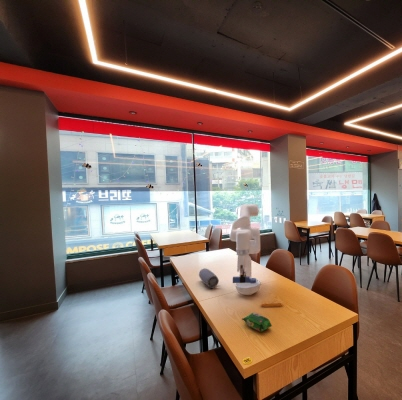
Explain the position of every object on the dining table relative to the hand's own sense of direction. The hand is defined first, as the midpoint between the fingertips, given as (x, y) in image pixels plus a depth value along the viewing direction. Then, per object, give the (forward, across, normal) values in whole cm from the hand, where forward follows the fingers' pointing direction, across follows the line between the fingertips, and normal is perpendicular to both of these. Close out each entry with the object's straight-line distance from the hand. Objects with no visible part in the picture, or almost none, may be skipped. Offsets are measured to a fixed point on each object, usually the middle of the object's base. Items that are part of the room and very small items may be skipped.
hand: (242, 281), depth 138 cm
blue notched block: (0, 0, +1) cm, 1 cm away
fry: (+15, 0, +17) cm, 23 cm away
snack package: (+15, +22, +10) cm, 29 cm away
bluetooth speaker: (+15, -36, -32) cm, 50 cm away
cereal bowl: (+15, -19, +1) cm, 25 cm away
